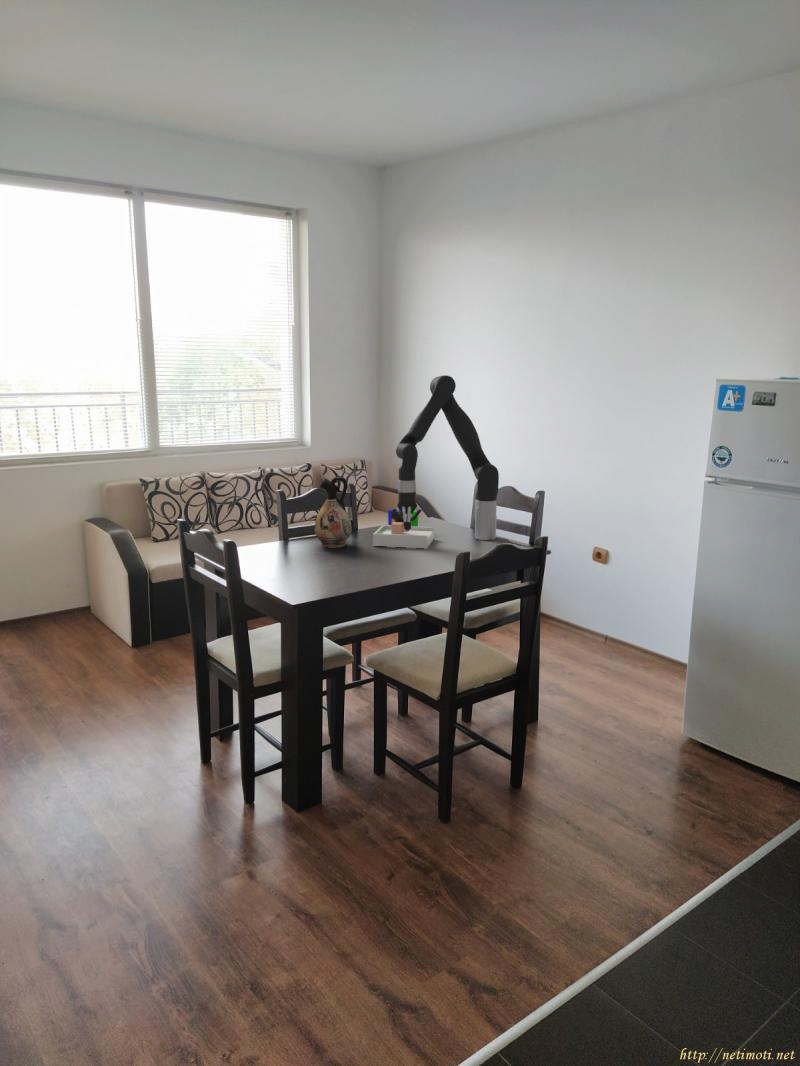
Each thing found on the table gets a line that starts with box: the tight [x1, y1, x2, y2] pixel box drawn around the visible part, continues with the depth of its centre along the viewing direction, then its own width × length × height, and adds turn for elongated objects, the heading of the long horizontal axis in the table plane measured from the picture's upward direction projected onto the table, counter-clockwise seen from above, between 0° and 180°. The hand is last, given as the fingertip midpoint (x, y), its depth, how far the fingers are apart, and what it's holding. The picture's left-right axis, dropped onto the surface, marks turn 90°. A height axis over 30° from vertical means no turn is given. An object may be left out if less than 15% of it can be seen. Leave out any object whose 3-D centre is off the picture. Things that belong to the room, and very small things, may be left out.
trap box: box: [372, 524, 435, 550], centre depth 329 cm, size 23×18×6 cm
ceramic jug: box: [314, 475, 352, 549], centre depth 321 cm, size 17×15×30 cm
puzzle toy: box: [387, 509, 419, 527], centre depth 349 cm, size 10×10×10 cm
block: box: [391, 522, 404, 534], centre depth 329 cm, size 4×4×4 cm
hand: (407, 530), depth 328 cm, fingers closed
